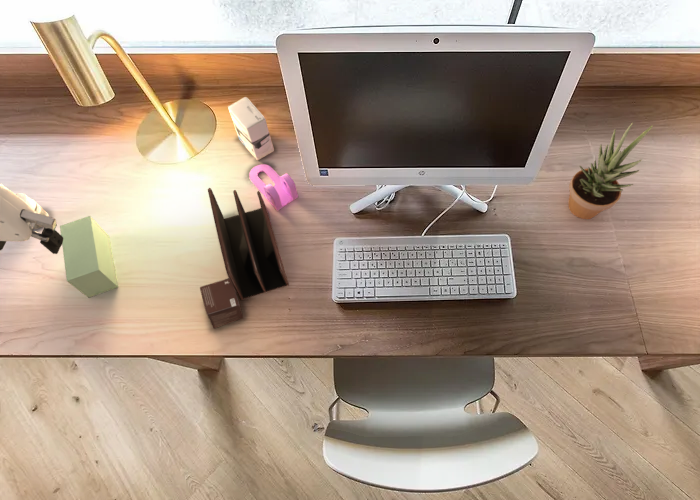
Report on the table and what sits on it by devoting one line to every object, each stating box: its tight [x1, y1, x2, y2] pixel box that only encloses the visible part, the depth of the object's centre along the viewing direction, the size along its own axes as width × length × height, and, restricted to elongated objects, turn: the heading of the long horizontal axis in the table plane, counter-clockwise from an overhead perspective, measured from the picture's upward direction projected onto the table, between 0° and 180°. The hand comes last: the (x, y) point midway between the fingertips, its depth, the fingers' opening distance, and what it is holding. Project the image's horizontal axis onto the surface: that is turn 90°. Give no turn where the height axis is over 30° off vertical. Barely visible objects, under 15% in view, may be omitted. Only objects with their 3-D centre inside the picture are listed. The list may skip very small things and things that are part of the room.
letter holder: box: [207, 187, 290, 301], centre depth 96 cm, size 10×20×14 cm, turn 18°
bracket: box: [248, 163, 299, 212], centre depth 107 cm, size 13×6×7 cm, turn 39°
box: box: [199, 277, 244, 329], centre depth 93 cm, size 6×6×7 cm
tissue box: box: [59, 215, 119, 298], centre depth 98 cm, size 6×13×9 cm, turn 22°
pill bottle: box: [15, 192, 50, 230], centre depth 105 cm, size 5×5×8 cm
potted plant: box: [567, 122, 654, 220], centre depth 94 cm, size 10×10×25 cm
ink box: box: [227, 96, 275, 161], centre depth 111 cm, size 8×5×12 cm, turn 37°
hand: (31, 244), depth 83 cm, fingers open, 9 cm apart
